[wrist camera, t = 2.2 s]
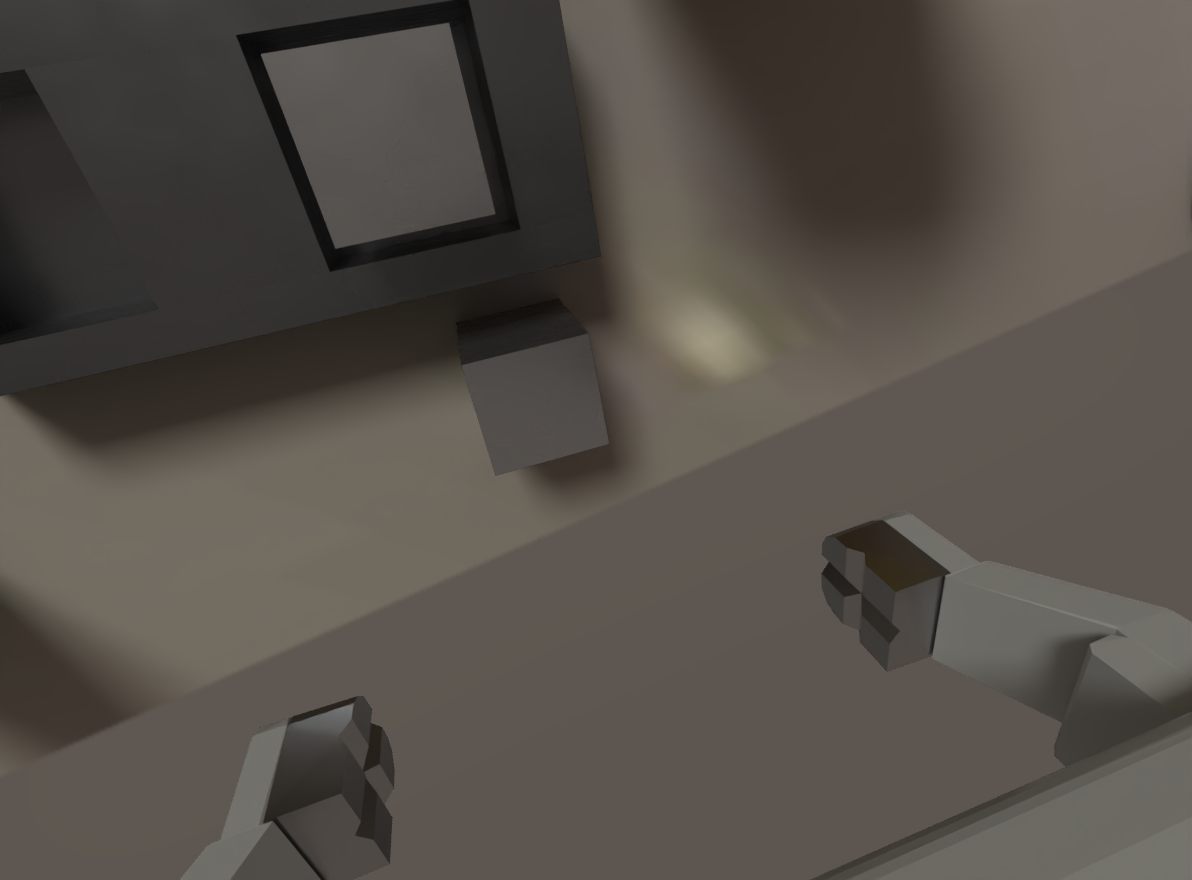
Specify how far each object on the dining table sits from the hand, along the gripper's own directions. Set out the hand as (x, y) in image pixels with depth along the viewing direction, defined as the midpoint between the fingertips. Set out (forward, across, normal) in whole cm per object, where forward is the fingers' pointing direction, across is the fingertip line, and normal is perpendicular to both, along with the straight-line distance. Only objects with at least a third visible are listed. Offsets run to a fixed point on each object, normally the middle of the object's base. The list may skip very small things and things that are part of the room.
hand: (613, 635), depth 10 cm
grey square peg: (+14, +1, -8) cm, 16 cm away
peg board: (+15, +6, -8) cm, 18 cm away
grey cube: (+15, -1, 0) cm, 15 cm away
